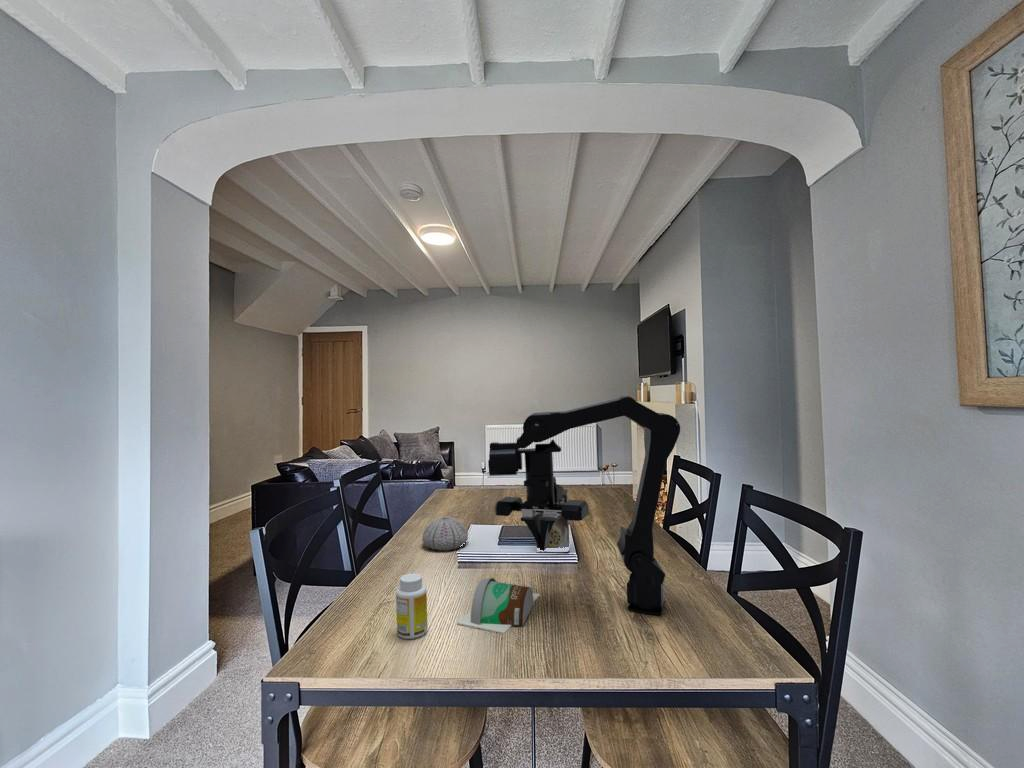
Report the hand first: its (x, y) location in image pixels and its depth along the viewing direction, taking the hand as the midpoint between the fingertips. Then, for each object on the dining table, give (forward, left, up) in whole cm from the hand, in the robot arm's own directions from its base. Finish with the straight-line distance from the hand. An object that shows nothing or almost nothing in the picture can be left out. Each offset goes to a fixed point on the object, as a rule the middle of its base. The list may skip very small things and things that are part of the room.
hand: (543, 549), depth 101 cm
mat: (+8, +5, -12) cm, 14 cm away
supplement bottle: (+19, +20, -12) cm, 29 cm away
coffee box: (+11, -34, -12) cm, 38 cm away
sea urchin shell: (+41, -26, -12) cm, 50 cm away
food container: (+1, +5, -8) cm, 10 cm away
